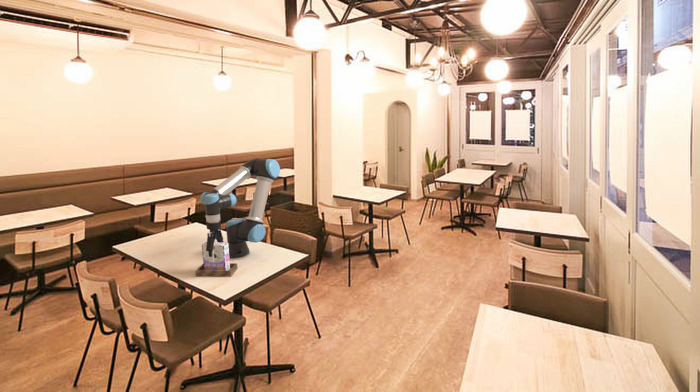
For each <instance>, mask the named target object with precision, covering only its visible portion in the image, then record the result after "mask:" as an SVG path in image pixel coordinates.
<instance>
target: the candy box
mask: <svg viewBox="0 0 700 392" xmlns="http://www.w3.org/2000/svg"><path fill="white" fill-rule="evenodd" d="M206 247H207V241H206V242H204V243H202V244H201V250H202V252H201V253H202V262H203V263H202V264H204V270H230V263H231V261H230V257H229V245H228V243H227V242H222V243H220V242H217V241H214V246H213V251H214V262H209V256H208V251H206Z"/></svg>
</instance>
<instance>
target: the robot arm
mask: <svg viewBox="0 0 700 392" xmlns="http://www.w3.org/2000/svg"><path fill="white" fill-rule="evenodd" d="M280 172H281V167H280V164H279V163H278V161H277V160H276V159H272V158H259V157H257V158H252V159H250V160H248V161H246V162H245V163H243V164H242V165H240V166H239V168H238V170H236V171H235V172H234V173H232V174H231V175H230V176H228V177H227V178H226V179H225V180H223V181H222V182H220V184H218V185H217V186H216V187H214V188H212V189H211V190H210V191H205V192H202V193H201V194H200V197H199V199H200V200H199V201H200V202H201V204H203V205H204V210H205V211H204V212H205V216H204V217H205V219H206V221H205V222H206V229H207V230H209V232H207V239H206V242H207V247H206V251H208V256H209V262H214V251H213V246H214V242H220V243H225V242H224V236H223V233H222V230H221V210H223V209H227V208H232V207H234V206H236V204H237V197H236V195H235V194H234V193H231V192H232V191H233V190H235V188H237V187H238V186H239V185H241V184H242V183H243V182H244V181H246V180H249V179H251V178H253V177H255V178H256V180H257V181H256V185H255V189H254V193H253V198H252V201H251V205H250V210H249V213H248V216H247V217H246V218H245V217H244V218H242V217H239V218H233V219H230V220H228V221H226V222H225V223H226V224H225V226H226V227H225V229H226V243H228V245H229V258H231V259H232V258H235V259H236V258H242V257H246V256H248V255H249V254H250V248H249V246H248V243H247V242H249V243H259V242H261V241H263V239H264V238H265V236H266V231H267V230H266V227H265V225H264V223H265V222H264V221H263V217H264V213H265V208H266V204H267V201H268V195H269V192H270V188H271V184H273V183H274V181H275V179H276V178H278V177H279V175H280ZM215 240H216V241H215Z"/></svg>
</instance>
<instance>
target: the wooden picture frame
mask: <svg viewBox="0 0 700 392" xmlns="http://www.w3.org/2000/svg"><path fill="white" fill-rule="evenodd" d="M237 270H238V263H237V262H236V263H235V262H234V263H232V262H230V270H204V264H203V263H202V264H201V265H200V266H199V267H198V268H196V269H195V271H194V272H195V277H201V278H202V277H206V278H207V277H214V278H215V277H216V278H217V277H218V278H219V277H220V278H222V277H224V278H225V277H226V278H228V277H232V276H233V275H234V274H235V273H236V272H237Z"/></svg>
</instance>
